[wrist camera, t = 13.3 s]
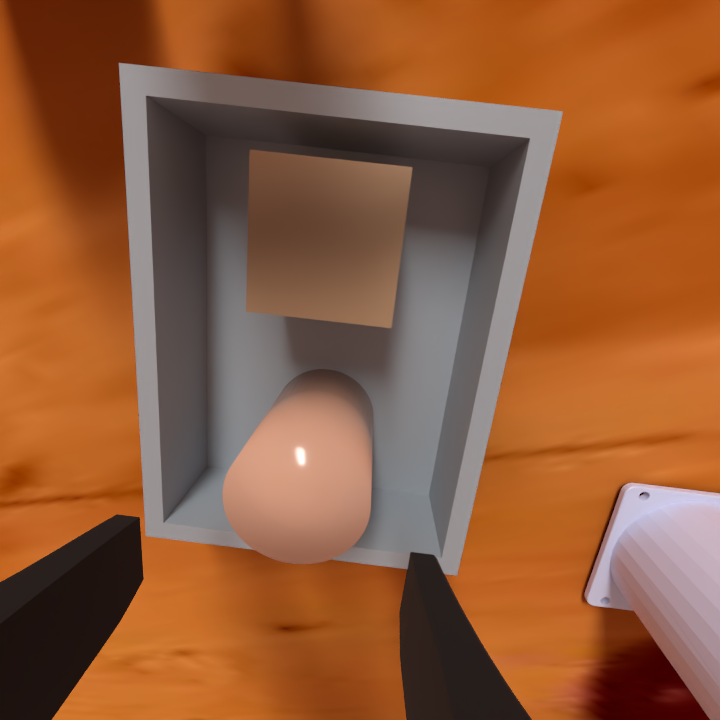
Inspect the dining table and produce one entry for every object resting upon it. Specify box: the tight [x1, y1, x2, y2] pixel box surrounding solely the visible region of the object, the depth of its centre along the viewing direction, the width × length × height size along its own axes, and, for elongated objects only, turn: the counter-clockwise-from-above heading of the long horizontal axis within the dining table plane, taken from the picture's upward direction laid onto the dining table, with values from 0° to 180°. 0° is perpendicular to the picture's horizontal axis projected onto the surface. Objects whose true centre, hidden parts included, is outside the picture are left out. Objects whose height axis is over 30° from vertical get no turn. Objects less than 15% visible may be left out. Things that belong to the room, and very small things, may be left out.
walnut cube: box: [246, 150, 413, 328], centre depth 15 cm, size 5×5×5 cm
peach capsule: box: [222, 369, 374, 564], centre depth 16 cm, size 5×5×7 cm
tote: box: [119, 63, 563, 576], centre depth 17 cm, size 14×18×5 cm
